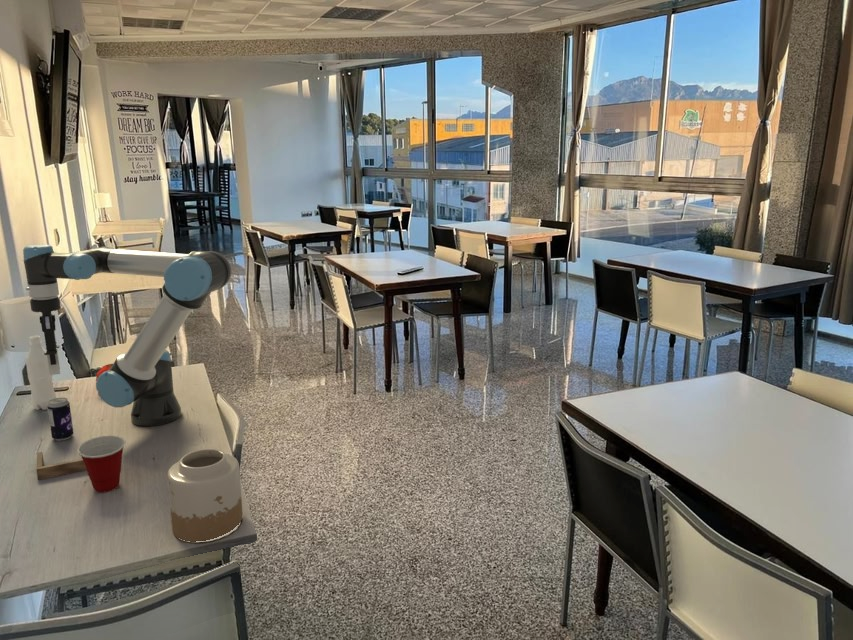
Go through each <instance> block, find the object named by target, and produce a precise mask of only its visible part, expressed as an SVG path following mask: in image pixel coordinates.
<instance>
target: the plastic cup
mask: <svg viewBox="0 0 853 640" xmlns="http://www.w3.org/2000/svg"><path fill="white" fill-rule="evenodd" d="M125 445H126V440H125V439H124V437H122V436H119V435H110V434H109V435H101V436H100V435H99V436H97V437H92V438H90V439H87V440H85V441H83V442H82V443H81V444H80V445H78V447H77V450H76V451H77V453H78V455H79V456H80V457H81V459H83V461H84V463H85V466H86V469H87V470H86V472H87V475H88V478H89V480H90V482H91V486H92V487H93V489H94V491H95V492H97V493H106V492H107V493H108V492H111V491H113V490H115V489H117V488H119V486H120V483H121V481H120V480H121V473H122V461H123V460H122V458H123V450H124V447H125Z"/></svg>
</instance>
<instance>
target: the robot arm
mask: <svg viewBox="0 0 853 640" xmlns="http://www.w3.org/2000/svg"><path fill="white" fill-rule="evenodd" d="M22 251H23V253H22V254H23V260H22V261H23V263H24V268H25V274H26V282H27V283H26V284H27V287H25V290H26V291H28V294H29V298H30V300H29V303H30V310H31V312H33V313H41V315H39V324H40V325H41V331H42V332H43V335H44V336H43V337H44V343H45V349H46V350H45V351H46V353H44V355H47V359H48V366H49V373H50V375H52V376H53V375H54V376H55V375H60V374H61V367H60V358H59V354H58V353H59V352H58V349H59V348H60V345H59V344H57V343H58V342H57V341H56V334H55V332H56V315H55V314H53V313H52V312H55V311H56V312H57V311H58V310H60V309H61V307H62V305H61V299H60V297H59V295H60V290H59V284H58V279H63V280H64V279H65V280H66V279H67V280H75V281H79V280H88V279H91V278H92V276H94V275H96V274H102V273H104V274H120V275H121V274H122V275H133V276H147V277H157V278H158V277H159V278H160V277H161V278H163V281H164V284H163V285H162V288H161V290H162V293H163V296H162V297H161V299H160V300H159V302H158V304H157V305H156V307H155V308H154V310H153V311H152V313H151V314H150V316H149V318H148V319H147V321H146V322H145V324H144V326H143V327H142V328H141V330H140V332H139V334H138V335H137V337H136V338H135V340H134V341H133V342H132V345H131V346H130V347H129V349H128V351H127V352H122V353H120V354H119V355H118V356H117V357H116V359H115V361H114V362H113V363H112V364H113V365H112V367H111V368H110V369H109V370H108V371H105V372H103V373H102V374H101V375H99V377H98V378H97V381H96V380H95V381H96V382H95V387H96V388H95V389H96V391H97V394H98V397H99V398H100V399H101V400H102V401H103V402H104V403H105V404H107V405H108V406H110V407H113V408H124V407H126V406H130V405H131V404H132V407H131V412H130V421H131V423H132V424H134V425H135V426H136V425H137V426H139V427H155V426H160V425H165V424H168V423H172V422H174V421H176V420H178V419H179V418H180V417H181V416H182V408H181V405H180V403H179V401H178V399H177V396H176V395H175V392H174V383H173V370H172V359H171V353H170V351H168V350H167V349H168V347H169V345H170V344H171V342H172V341H173V339H174V338H175V336H176V335H177V333H178V332H179V330H180V329H181V327H182V326H183V325H184V323H185V321H186V320H187V318H188V317H189V315H190V314H191V313H192V311H197V310H199V309H200V308H201V307H202V306H203V304H204V303H205V301H206V300H207V298H208V297H209V295H211V293H213V292H215V291H217V290H220V289H222V288H223V287H225V286H226V285H227V284H228V283H229V282H230V279H231V277H232V266H231V264H230V262H229V260H228V259H227V258H226V256H224V255H223V254H221V253H220V252H217V251H211V250H209V251H208V250H207V251H195V250H193V251H191V252H190V253H176V252H162V251H146V250H135V249H134V250H133V249H132V250H131V249H117V248H115V247H112V246H99V247H96V248H91V249H85V250H80V251H74V252H55V251H54V249H53V246H52V245H50V244H33V245H32V244H31V245H26V246H25V247H24V248H23V250H22ZM180 415H181V416H180ZM178 417H179V418H178ZM177 418H178V419H177ZM175 419H176V420H175Z"/></svg>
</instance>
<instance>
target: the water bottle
mask: <svg viewBox="0 0 853 640" xmlns="http://www.w3.org/2000/svg"><path fill="white" fill-rule="evenodd" d="M42 343H43V341H42V339H41V336H40V335H31V336H29V343H28V344H29V345H30V346H29V347H30V348H29V351H28V353H27V354H26V357H25V364H26V372H27V380H28V382H29V385H30V392H31V393H30V394H31V396H30V400H31V405H32V407H33V408H34V409H35V410H36V411H39V410H42V411H43V410H44V411H46V410H47V411H48V407H47V406H48V404H49V403H48V402H49V401H50V400H52V399H55V398H57V395H56V392H55V389H54V384H53V375H50V373H49V366H48V359H47V355H44V353H46V351H47V350H45V348H44V346H43V345H42Z"/></svg>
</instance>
